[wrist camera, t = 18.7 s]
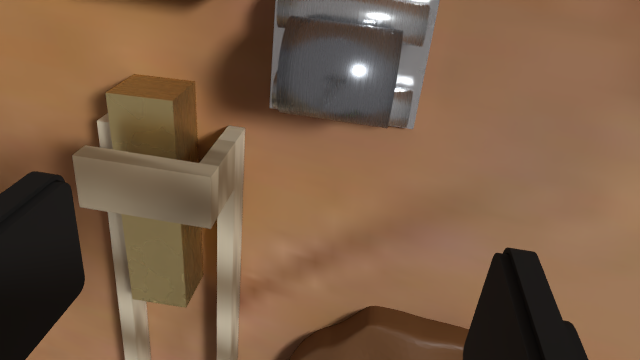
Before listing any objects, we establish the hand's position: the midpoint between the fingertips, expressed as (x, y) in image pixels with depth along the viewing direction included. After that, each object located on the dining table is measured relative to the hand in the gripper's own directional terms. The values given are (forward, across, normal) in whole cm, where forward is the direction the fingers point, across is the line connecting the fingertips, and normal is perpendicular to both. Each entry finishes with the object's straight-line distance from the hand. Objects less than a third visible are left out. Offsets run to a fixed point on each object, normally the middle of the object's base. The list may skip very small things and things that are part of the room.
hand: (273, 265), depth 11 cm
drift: (+19, +10, +10) cm, 23 cm away
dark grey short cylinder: (+12, 0, -1) cm, 12 cm away
